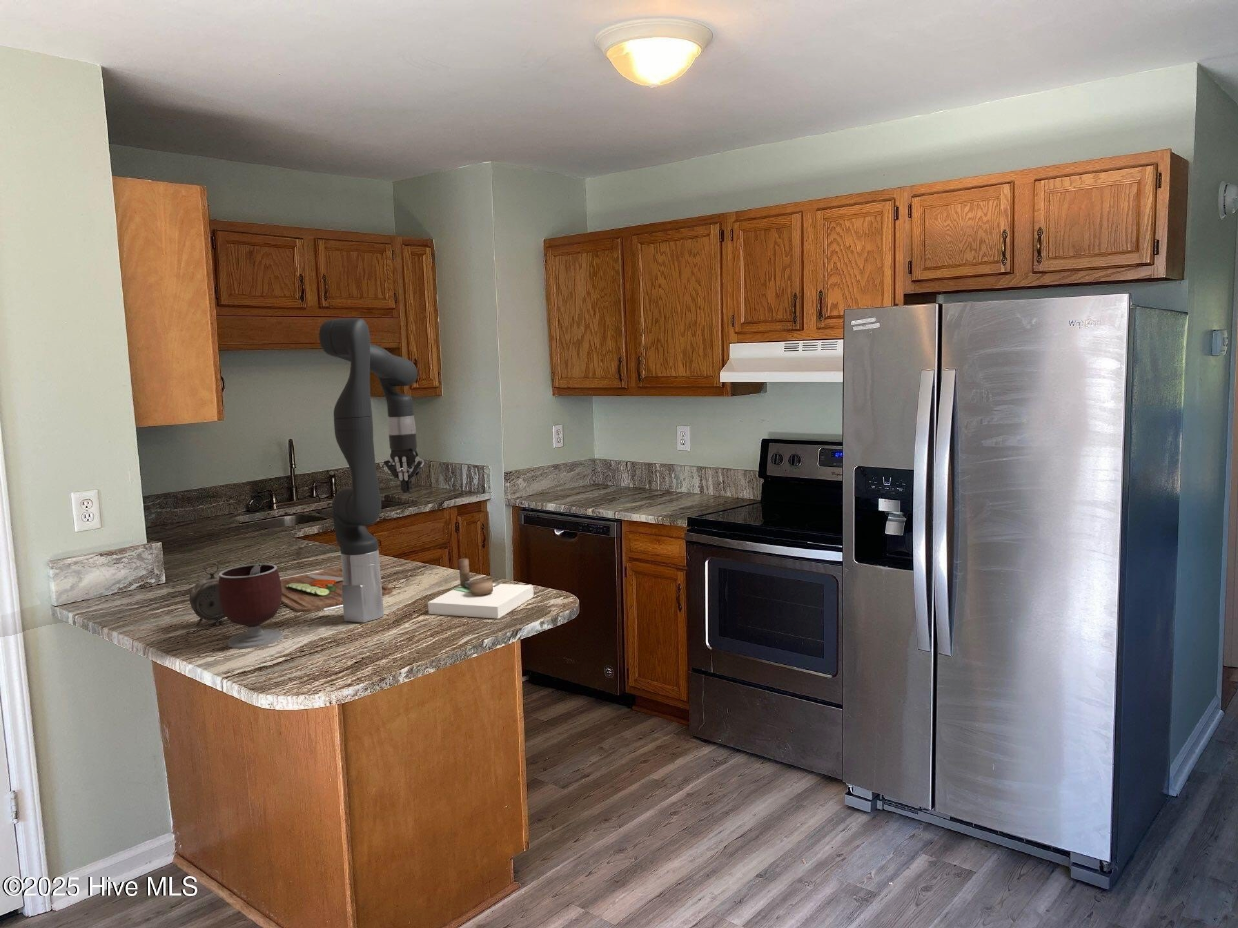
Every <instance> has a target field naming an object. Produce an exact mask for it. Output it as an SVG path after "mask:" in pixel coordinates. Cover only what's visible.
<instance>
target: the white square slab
mask: <svg viewBox="0 0 1238 928" xmlns="http://www.w3.org/2000/svg"><path fill="white" fill-rule="evenodd" d="M532 598H534V585H531V584H527V585H526V584H513V583H510V584H508V583H500V582H497V583H493V592H491V593H488V594H482V595H474V594H471V593H470V588H468V587H466V586H460V585H459V586H457V587H455V588H452V589H451V590H450V591H449V590H448V592H445V593H443V594H441V595H439V596H437V597H436V598H434V599H432V600H430V601H428V602H427V607H428V615H439V616H440V615H441V616H456V617H457V616H458V617H470V618H482V619H483V618H484V619H486V618H487V619H500V618H502V617H504V616H505V615H506V614H509V612H511V611H513V610H515V609H516V608H518V607H519V606H521V605H523V604H524V603H525V602H527V601H528V600H530V599H532Z"/></svg>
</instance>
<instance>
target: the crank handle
mask: <svg viewBox="0 0 1238 928" xmlns="http://www.w3.org/2000/svg"><path fill="white" fill-rule="evenodd" d="M469 564H470V562H469V558H466V557H465V558H460V559H458V568H459V571H458V572H459V583H460V584H459V586H466V587H468V588H470V593H471V594H474V595H482V594H488V593H491V592H493V580H491V579H477V580H472V581H471V578H470V577H471V575H470V565H469Z"/></svg>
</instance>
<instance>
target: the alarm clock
mask: <svg viewBox="0 0 1238 928" xmlns="http://www.w3.org/2000/svg"><path fill="white" fill-rule="evenodd" d="M209 564H215V565H216V567H217V568H216V571H215V572H213V571H211V572H210V573H209V572H208V571H207V570H206V568H207V566H208V565H209ZM203 569H204V572H205V573H206V575H210V576H208V577H204V578H202V579H200V580H198V581H197V583H196V584H194V586H193V588H192V589H191V590H190V593H189V605H190V607H191V609H192V611H193V613H194V614H195V615H196V616H197V617H199V619H198V622H197V623H196V626H197V627H198V626H199V625H200V623H202V621H207V622H215V625H216V626H219V625H220V622H219V621H221V620H224V619H226V618H227V617H226V616H225V615H224V614H223V611H222V609H221V605H220V601H219V593H218V585H219V575H216V573H217V572H218V571H219V564H218V563H217V562H215V561H209V562H207V563H205V564H204V568H203Z"/></svg>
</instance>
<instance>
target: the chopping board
mask: <svg viewBox="0 0 1238 928" xmlns="http://www.w3.org/2000/svg"><path fill="white" fill-rule="evenodd" d="M280 580H281V588H282V599H281V604H284V605H285V606H286V607H287V608H290V609H292V610H293V611H296V612H297V613H309V612H311V613H312V612H315V611H316V612H317V611H320V610H322V611H323V612H327V611H331V610H335V609H340V608H343V599H342V588H341V585H342V584H343V573H342V567H340V568H339V567H337V568H331V569H324V570H323V569H320V570H316V571H310V572H305V573H299V574H294V575H288V576H284V577H280ZM381 586H382V597H384V596H385V597H386V596H387V595H391V594H392V593H393V588H392V587H389V586H387V585H384V584H382V583H381Z"/></svg>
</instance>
